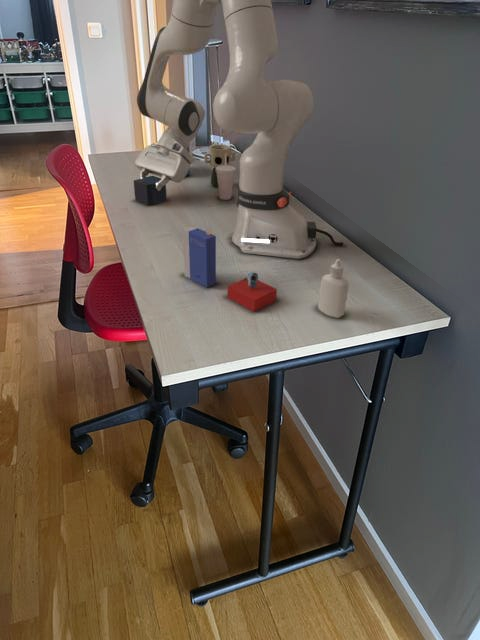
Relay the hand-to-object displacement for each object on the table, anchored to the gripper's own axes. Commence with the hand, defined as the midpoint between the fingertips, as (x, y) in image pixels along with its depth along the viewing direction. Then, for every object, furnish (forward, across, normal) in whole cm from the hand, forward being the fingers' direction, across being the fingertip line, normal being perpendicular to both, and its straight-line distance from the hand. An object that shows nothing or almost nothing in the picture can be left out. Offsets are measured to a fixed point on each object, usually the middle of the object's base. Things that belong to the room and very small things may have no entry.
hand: (148, 186), depth 156 cm
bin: (+3, 0, +4) cm, 5 cm away
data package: (-16, -17, +23) cm, 33 cm away
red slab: (+20, +64, -13) cm, 68 cm away
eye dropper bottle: (+14, +79, -7) cm, 81 cm away
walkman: (+21, +50, -14) cm, 56 cm away
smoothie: (-10, +14, +17) cm, 25 cm away
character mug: (-16, +4, +23) cm, 28 cm away
